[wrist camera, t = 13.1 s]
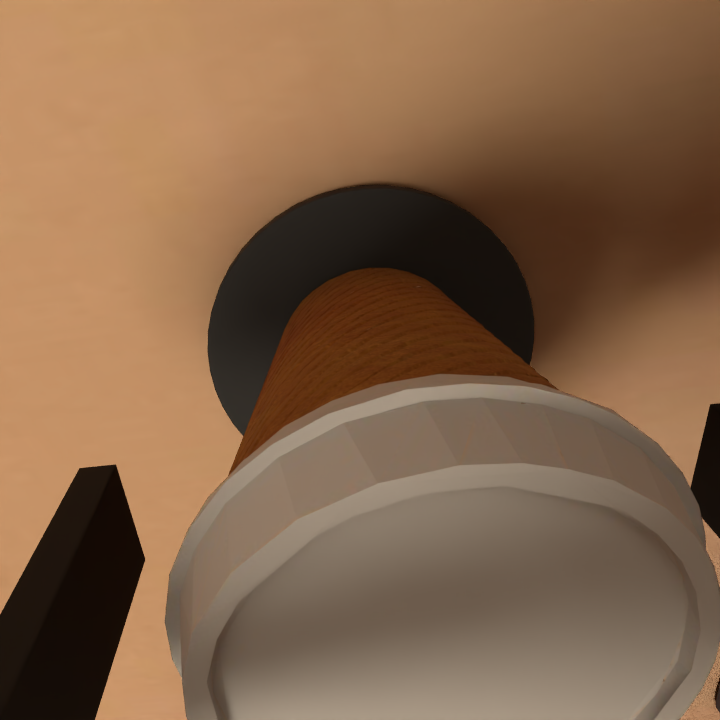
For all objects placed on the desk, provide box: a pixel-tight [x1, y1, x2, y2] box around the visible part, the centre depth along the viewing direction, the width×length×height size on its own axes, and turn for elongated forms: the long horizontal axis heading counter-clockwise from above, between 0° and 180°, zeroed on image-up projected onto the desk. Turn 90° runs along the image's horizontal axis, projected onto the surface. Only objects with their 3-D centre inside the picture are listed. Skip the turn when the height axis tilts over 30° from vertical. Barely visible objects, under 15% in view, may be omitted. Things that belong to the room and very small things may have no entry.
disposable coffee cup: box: [165, 268, 720, 720], centre depth 15 cm, size 10×10×12 cm
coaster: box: [208, 185, 534, 436], centre depth 21 cm, size 11×11×1 cm
